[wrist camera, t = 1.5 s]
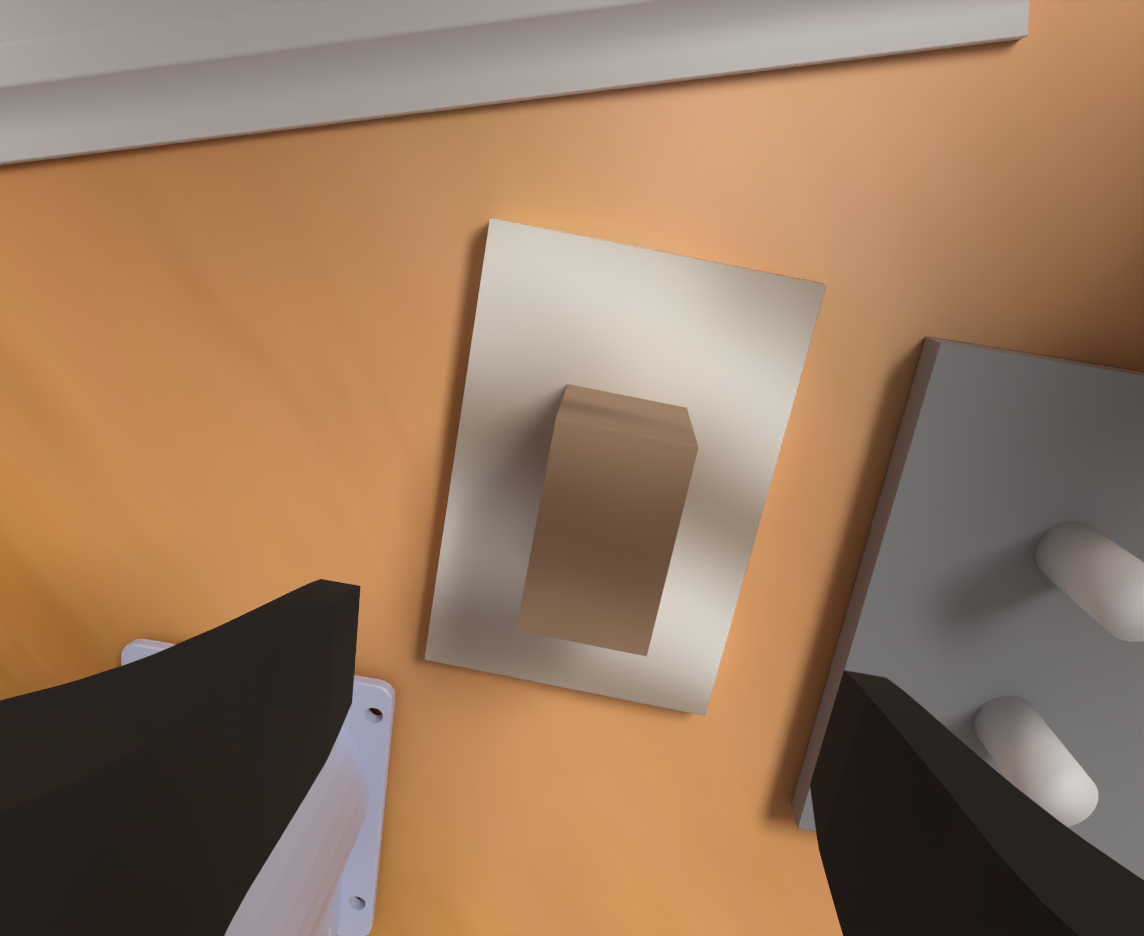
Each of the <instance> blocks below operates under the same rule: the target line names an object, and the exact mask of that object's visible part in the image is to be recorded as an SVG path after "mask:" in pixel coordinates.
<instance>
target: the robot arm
mask: <svg viewBox="0 0 1144 936" xmlns="http://www.w3.org/2000/svg"><path fill="white" fill-rule="evenodd" d="M359 598H360V586H357V585H351V584H346V583H340V582H334V581H328V580H323V579H320V580H317V581H314V582H312V583H309V584H307V585H305V586H302V587H300V588H298V589H296V590H294V591H292V592H290V593H287V594H285V595H283V596H281V597H279V598H277V599H275V600H273V601H271V602H269V603H267V604H265V605H263V606H261V607H259V608H257V609H254V610H252V611H250V612H248V613H246V614H244V615H242V616H240V617H238V618H236V619H233V620H231V621H229V622H227V623H225V624H223V625H221V626H219V627H216V628H214V629H212V630H209V631H207V632H205V633H202V634H200V635H198V636H195V637H193V638H191V639H188V640H186V641H183V642H181V643H179V644H172V643H166V642H160V641H155V640H149V639H135V640H133V641H131V642H130V643H129V644H127V645H126V646H125V647H124V649H123V650H122V653H121V666H120V667H117V668H114V669H111V670H108V671H105V672H102V673H98V674H95V675H92V676H89V677H86V678H83V679H80V680H77V681H73V682H70V683H67V684H63V685H59V686H55V687H52V688H48V689H44V690H40V691H36V692H32V693H28V694H24V695H20V696H16V697H12V698H9V699H5V700H1V701H0V936H336V935H339V936H367V935H368V934H369V933H370V930H371V927H372V925H373V922H374V914H375V903H376V893H377V883H378V872H379V862H380V852H381V841H382V831H383V821H384V810H385V800H386V790H387V780H388V769H389V759H390V749H391V738H392V728H393V718H394V707H395V691H394V689H393V687H392V686H391V685H390V684H389V683H388V682H386V681H383V680H381V679H375V678H369V677H364V676H358V675H354V670H355V655H356V641H357V627H358V612H359ZM369 708H376V709H379V710H380V711H381V713H382V715H375V714H373V713H372V712H371V711H370V709H369ZM810 790H811V797H812V805H813V813H814V821H815V827H816V833H817V840H818V846H819V851H820V855H821V859H822V862H823V866H824V870H825V873H826V877H827V880H828V884H829V888H830V891H831V895H832V898H833V902H834V905H835V909H836V912H837V916H838V919H839V923H840V926H841V929H842V933H843V936H1144V880H1143V879H1141V878H1140V877H1138V876H1137V875H1135V874H1134V873H1132V872H1131V871H1129V870H1128V869H1126V868H1125V867H1124V866H1122V865H1121V864H1119V863H1118V862H1116V861H1115V860H1113V859H1112V858H1110V857H1109V856H1108V855H1106V854H1105V853H1103V852H1102V851H1100V850H1099V849H1097V848H1096V847H1094V846H1093V845H1092V844H1090V843H1089V842H1087V841H1086V840H1084V839H1083V838H1082V837H1080V836H1079V835H1077V834H1076V833H1075V832H1073V831H1072V830H1071V829H1069V828H1068V827H1067V826H1065V825H1064V824H1062V823H1061V822H1060V821H1058V820H1057V819H1056V818H1055V817H1053V816H1052V815H1051V814H1049V813H1048V812H1047V811H1046V810H1044V809H1043V808H1042V807H1041V806H1039V805H1038V804H1037V803H1035V802H1034V801H1033V800H1032V799H1030V798H1029V797H1028V796H1027V795H1025V794H1024V793H1023V792H1021V791H1020V790H1019V789H1018V788H1016V787H1015V786H1014V785H1013V784H1012V783H1010V782H1009V781H1008V780H1007V779H1006V778H1004V777H1003V776H1002V775H1001V774H999V773H998V772H997V771H996V770H995V769H994V768H992V767H991V766H990V765H989V764H988V763H986V762H985V761H984V760H983V759H982V758H981V757H979V756H978V755H977V754H976V753H975V752H974V751H972V750H971V749H970V748H969V747H968V746H967V745H966V744H964V743H963V742H962V741H961V740H960V739H959V738H958V737H956V736H955V735H954V734H953V733H952V732H951V731H950V730H948V729H947V728H946V727H945V726H944V725H943V724H942V723H941V722H939V721H938V720H937V719H936V718H935V717H934V716H933V715H931V714H930V713H929V712H928V711H927V710H926V709H925V708H923V707H922V706H921V705H920V704H919V703H918V702H916V701H915V700H914V699H913V698H912V697H911V696H909V695H908V694H907V693H906V692H905V691H903V690H902V689H901V688H900V687H898V686H897V685H896V684H894V683H893V682H892V681H890V680H889V679H887V678H886V677H881V676H875V675H869V674H863V673H858V672H852V671H846V670H844V671H843V675H842V678H841V682H840V685H839V688H838V692H837V695H836V698H835V702H834V705H833V708H832V712H831V715H830V718H829V722H828V725H827V728H826V732H825V735H824V739H823V742H822V745H821V749H820V752H819V755H818V759H817V762H816V765H815V769H814V772H813V775H812V779H811V782H810ZM356 897H360V898H362V899H363V900H360V899H358V898H356Z"/></svg>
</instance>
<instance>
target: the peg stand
mask: <svg viewBox="0 0 1144 936" xmlns="http://www.w3.org/2000/svg"><path fill="white" fill-rule="evenodd" d="M844 670H846V671H852V672H858V673H863V674H869V675H875V676H881V677H886V678H887V679H889V680H890V681H892V682H893V683H894V684H896V685H897V686H898V687H900V688H901V689H902V690H903V691H905V692H906V693H907V694H908V695H909V696H911V697H912V698H913V699H914V700H915V701H916V702H918V703H919V704H920V705H921V706H922V707H923V708H925V709H926V710H927V711H928V712H929V713H930V714H931V715H933V716H934V717H935V718H936V719H937V720H938V721H939V722H941V723H942V724H943V725H944V726H945V727H946V728H947V729H948V730H950V731H951V732H952V733H953V734H954V735H955V736H956V737H958V738H959V739H960V740H961V741H962V742H963V743H964V744H966V745H967V746H968V747H969V748H970V749H971V750H972V751H974V752H975V753H976V754H977V755H978V756H979V757H981V758H982V759H983V760H984V761H985V762H986V763H988V764H989V765H990V766H991V767H992V768H994V769H995V770H996V771H997V772H998V773H999V774H1001V775H1002V776H1003V777H1004V778H1006V779H1007V780H1008V781H1009V782H1010V783H1012V784H1013V785H1014V786H1015V787H1016V788H1018V789H1019V790H1020V791H1021V792H1023V793H1024V794H1025V795H1027V796H1028V797H1029V798H1030V799H1032V800H1033V801H1034V802H1035V803H1037V804H1038V805H1039V806H1041V807H1042V808H1043V809H1044V810H1046V811H1047V812H1048V813H1049V814H1051V815H1052V816H1053V817H1055V818H1056V819H1057V820H1058V821H1060V822H1061V823H1062V824H1064V825H1065V826H1067V827H1068V828H1069V829H1071V830H1072V831H1073V832H1075V833H1076V834H1077V835H1079V836H1080V837H1082V838H1083V839H1084V840H1086V841H1087V842H1089V843H1090V844H1092V845H1093V846H1094V847H1096V848H1097V849H1099V850H1100V851H1102V852H1103V853H1105V854H1106V855H1108V856H1109V857H1110V858H1112V859H1113V860H1115V861H1116V862H1118V863H1119V864H1121V865H1122V866H1124V867H1125V868H1126V869H1128V870H1129V871H1131V872H1132V873H1134V874H1135V875H1137V876H1138V877H1140V878H1141V879H1143V880H1144V372H1142V371H1135V370H1129V369H1123V368H1117V367H1111V366H1104V365H1098V364H1092V363H1086V362H1080V361H1073V360H1067V359H1061V358H1055V357H1049V356H1043V355H1036V354H1030V353H1024V352H1018V351H1012V350H1005V349H999V348H993V347H987V346H981V345H974V344H968V343H962V342H956V341H950V340H943V339H937V338H931V337H926V338H925V341H924V345H923V348H922V351H921V355H920V358H919V362H918V365H917V369H916V372H915V376H914V379H913V383H912V386H911V390H910V393H909V397H908V400H907V404H906V407H905V411H904V414H903V417H902V421H901V424H900V428H899V431H898V435H897V438H896V442H895V445H894V449H893V452H892V456H891V459H890V463H889V466H888V470H887V473H886V477H885V480H884V484H883V487H882V490H881V494H880V497H879V501H878V504H877V508H876V511H875V515H874V518H873V522H872V525H871V529H870V532H869V536H868V539H867V543H866V546H865V550H864V553H863V557H862V560H861V563H860V567H859V570H858V574H857V577H856V581H855V584H854V588H853V591H852V595H851V598H850V602H849V605H848V609H847V612H846V616H845V619H844V623H843V626H842V630H841V633H840V636H839V640H838V643H837V647H836V650H835V654H834V657H833V661H832V664H831V668H830V671H829V675H828V678H827V682H826V685H825V689H824V692H823V696H822V699H821V703H820V706H819V709H818V713H817V716H816V720H815V723H814V727H813V730H812V734H811V737H810V741H809V744H808V748H807V751H806V755H805V758H804V762H803V765H802V769H801V772H800V776H799V779H798V782H797V786H796V789H795V793H794V796H793V800H792V803H791V804H792V808H793V812H794V816H795V819H796V823H797V827H798V828H799V829H805V830H811V831H816V827H815V821H814V813H813V805H812V797H811V790H810V782H811V779H812V775H813V772H814V769H815V765H816V762H817V759H818V755H819V752H820V749H821V745H822V742H823V739H824V735H825V732H826V728H827V725H828V722H829V718H830V715H831V712H832V708H833V705H834V702H835V698H836V695H837V692H838V688H839V685H840V682H841V678H842V675H843V671H844Z"/></svg>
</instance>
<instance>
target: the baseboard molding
mask: <svg viewBox="0 0 1144 936" xmlns="http://www.w3.org/2000/svg"><path fill="white" fill-rule="evenodd" d="M1028 18H1029V0H0V165H6V164H15V163H23V162H31V161H39V160H47V159H55V158H63V157H71V156H79V155H87V154H96V153H104V152H112V151H120V150H128V149H136V148H144V147H152V146H160V145H168V144H177V143H185V142H193V141H201V140H209V139H217V138H225V137H233V136H241V135H249V134H257V133H266V132H274V131H282V130H290V129H298V128H306V127H314V126H322V125H330V124H338V123H347V122H355V121H363V120H371V119H379V118H387V117H395V116H403V115H411V114H419V113H428V112H436V111H444V110H452V109H460V108H468V107H476V106H484V105H492V104H500V103H509V102H517V101H525V100H533V99H541V98H549V97H557V96H565V95H573V94H581V93H590V92H598V91H606V90H614V89H622V88H630V87H638V86H646V85H654V84H662V83H670V82H679V81H687V80H695V79H703V78H711V77H719V76H727V75H735V74H743V73H751V72H760V71H768V70H776V69H784V68H792V67H800V66H808V65H816V64H824V63H832V62H841V61H849V60H857V59H865V58H873V57H881V56H889V55H897V54H905V53H913V52H922V51H930V50H938V49H946V48H954V47H962V46H970V45H978V44H986V43H994V42H1002V41H1011V40H1019V39H1022V38H1024V37H1027V35H1028Z"/></svg>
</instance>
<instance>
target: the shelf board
mask: <svg viewBox="0 0 1144 936" xmlns="http://www.w3.org/2000/svg"><path fill="white" fill-rule="evenodd" d="M825 288H826V285H824V284H822V283H819V282H814V281H809V280H804V279H799V278H794V277H789V276H784V275H779V274H774V273H769V272H764V271H758V270H753V269H748V268H743V267H738V266H733V265H728V264H723V263H718V262H713V261H708V260H703V259H698V258H693V257H688V256H683V255H678V254H673V253H668V252H663V251H658V250H653V249H648V248H643V247H638V246H633V245H628V244H623V243H617V242H612V241H607V240H602V239H597V238H592V237H587V236H582V235H577V234H572V233H567V232H562V231H557V230H552V229H547V228H542V227H537V226H532V225H527V224H522V223H517V222H512V221H507V220H502V219H497V218H491V219H490V222H489V228H488V235H487V242H486V248H485V255H484V262H483V268H482V275H481V282H480V289H479V295H478V302H477V309H476V315H475V322H474V329H473V336H472V342H471V349H470V356H469V362H468V369H467V376H466V383H465V389H464V396H463V403H462V409H461V416H460V423H459V430H458V436H457V443H456V450H455V456H454V463H453V470H452V477H451V483H450V490H449V497H448V503H447V510H446V517H445V524H444V530H443V537H442V544H441V550H440V557H439V564H438V571H437V577H436V584H435V591H434V597H433V604H432V611H431V618H430V624H429V631H428V638H427V644H426V651H425V658H424V660H429V661H434V662H439V663H444V664H449V665H454V666H459V667H464V668H469V669H474V670H479V671H484V672H489V673H494V674H499V675H504V676H509V677H514V678H518V679H523V680H528V681H533V682H538V683H543V684H548V685H553V686H558V687H563V688H568V689H573V690H578V691H583V692H588V693H593V694H598V695H603V696H608V697H613V698H618V699H623V700H628V701H633V702H638V703H643V704H648V705H653V706H658V707H663V708H668V709H673V710H678V711H683V712H688V713H693V714H698V715H703V716H705V714H706V711H707V707H708V704H709V700H710V696H711V693H712V689H713V686H714V682H715V679H716V675H717V672H718V668H719V665H720V661H721V657H722V654H723V650H724V647H725V643H726V640H727V636H728V633H729V629H730V626H731V622H732V618H733V615H734V611H735V608H736V604H737V601H738V597H739V594H740V590H741V586H742V583H743V579H744V576H745V572H746V569H747V565H748V562H749V558H750V555H751V551H752V547H753V544H754V540H755V537H756V533H757V530H758V526H759V523H760V519H761V516H762V512H763V508H764V505H765V501H766V498H767V494H768V491H769V487H770V484H771V480H772V476H773V473H774V469H775V466H776V462H777V459H778V455H779V452H780V448H781V445H782V441H783V437H784V434H785V430H786V427H787V423H788V420H789V416H790V413H791V409H792V406H793V402H794V398H795V395H796V391H797V388H798V384H799V381H800V377H801V374H802V370H803V367H804V363H805V359H806V356H807V352H808V349H809V345H810V342H811V338H812V335H813V331H814V327H815V324H816V320H817V317H818V313H819V310H820V306H821V303H822V299H823V296H824V292H825Z"/></svg>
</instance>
